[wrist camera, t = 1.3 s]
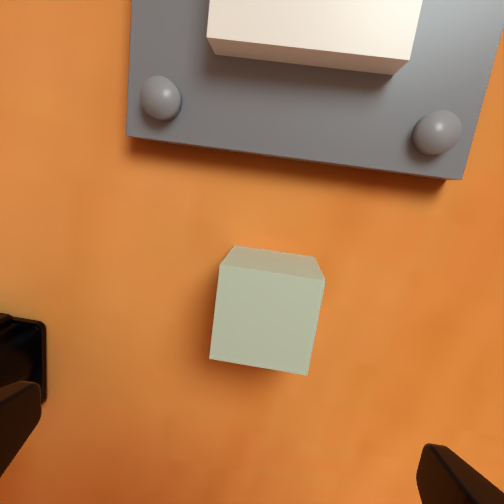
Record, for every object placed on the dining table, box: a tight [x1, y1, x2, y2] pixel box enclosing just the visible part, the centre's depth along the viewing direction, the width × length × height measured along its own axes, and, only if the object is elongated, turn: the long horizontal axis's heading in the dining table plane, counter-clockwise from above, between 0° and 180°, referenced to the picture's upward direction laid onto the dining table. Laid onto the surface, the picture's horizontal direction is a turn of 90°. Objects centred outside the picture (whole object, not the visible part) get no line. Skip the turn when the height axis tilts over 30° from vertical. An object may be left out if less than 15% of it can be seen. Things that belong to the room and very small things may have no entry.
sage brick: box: [209, 245, 326, 375], centre depth 18 cm, size 5×5×5 cm
